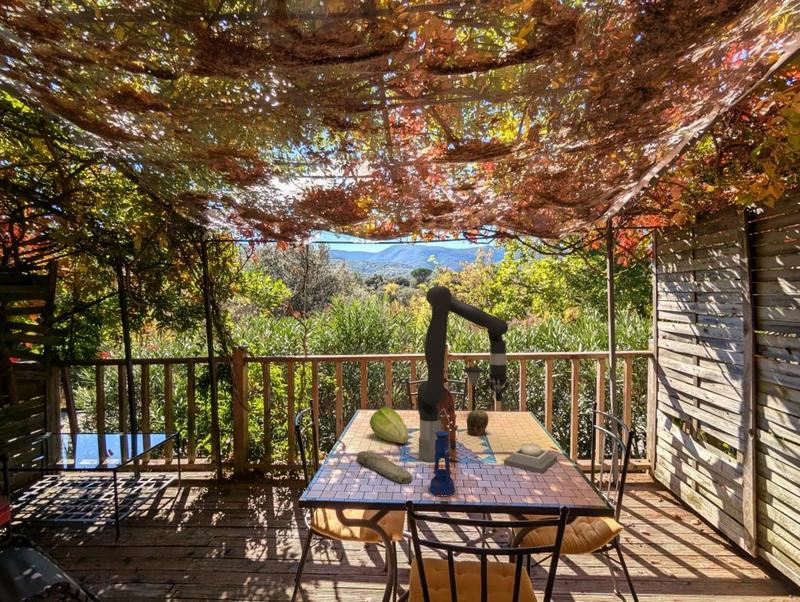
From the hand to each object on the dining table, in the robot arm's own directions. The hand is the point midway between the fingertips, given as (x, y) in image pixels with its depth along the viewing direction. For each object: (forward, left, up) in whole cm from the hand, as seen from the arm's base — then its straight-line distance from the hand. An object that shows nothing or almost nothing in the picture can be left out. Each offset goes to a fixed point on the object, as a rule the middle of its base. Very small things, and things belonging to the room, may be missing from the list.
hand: (498, 400), depth 207 cm
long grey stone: (-49, +28, -23) cm, 61 cm away
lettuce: (-17, +50, -23) cm, 57 cm away
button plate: (-5, -17, -23) cm, 29 cm away
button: (-5, -17, -19) cm, 26 cm away
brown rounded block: (+17, +20, -23) cm, 35 cm away
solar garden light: (+37, +33, -23) cm, 54 cm away
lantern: (-51, -2, -23) cm, 56 cm away
